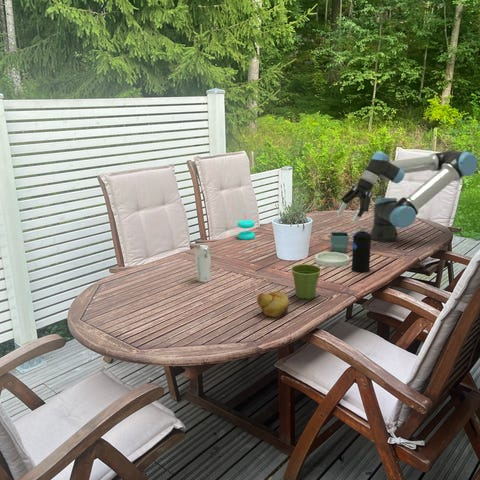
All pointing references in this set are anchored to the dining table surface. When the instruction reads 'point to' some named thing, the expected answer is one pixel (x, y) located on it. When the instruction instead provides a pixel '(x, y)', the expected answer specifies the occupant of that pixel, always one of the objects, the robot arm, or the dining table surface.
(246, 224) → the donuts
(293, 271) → the plant pot
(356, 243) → the aerosol can
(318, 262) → the saucer
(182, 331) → the dining table surface
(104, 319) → the dining table surface
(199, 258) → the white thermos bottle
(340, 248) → the flower pot
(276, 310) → the brown lumpy oval
